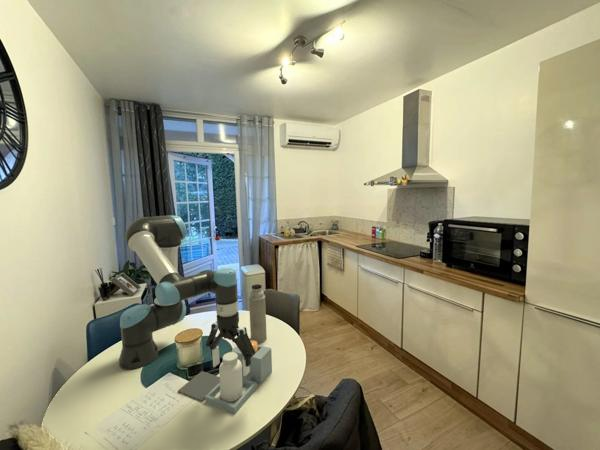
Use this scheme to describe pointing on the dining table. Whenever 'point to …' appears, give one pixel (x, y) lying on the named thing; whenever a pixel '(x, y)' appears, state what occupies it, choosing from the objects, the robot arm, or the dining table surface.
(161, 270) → the robot arm
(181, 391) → the mat
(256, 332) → the thermos bottle
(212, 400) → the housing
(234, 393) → the pill bottle
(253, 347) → the plunger
